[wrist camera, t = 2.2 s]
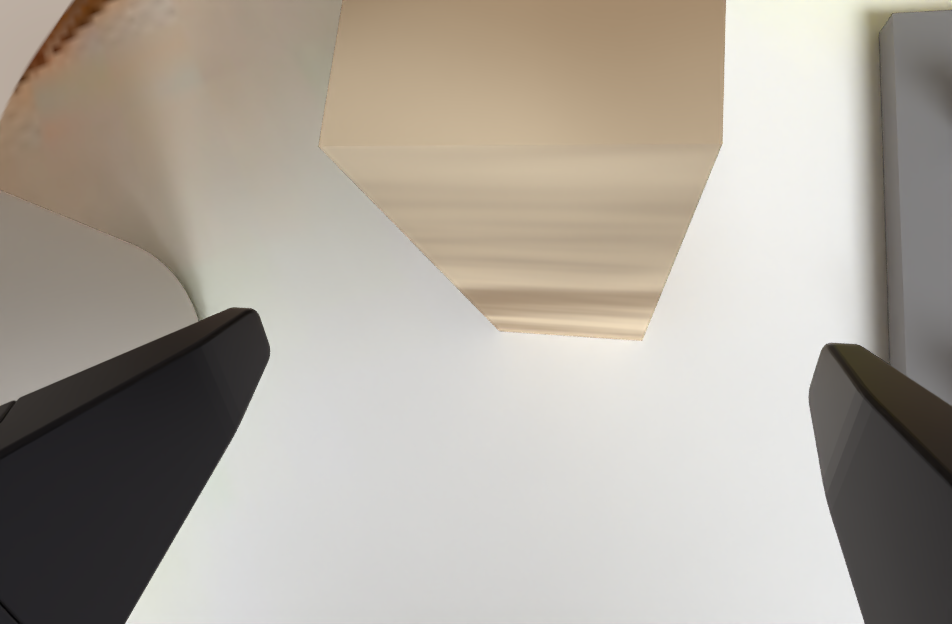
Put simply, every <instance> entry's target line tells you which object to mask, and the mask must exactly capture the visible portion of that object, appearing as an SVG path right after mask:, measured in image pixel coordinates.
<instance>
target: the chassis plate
mask: <svg viewBox="0 0 952 624" xmlns="http://www.w3.org/2000/svg"><path fill="white" fill-rule="evenodd" d="M879 40H880V71H881V102H882V133H883V164H884V195H885V226H886V257H887V288H888V319H889V350H890V365H891V366H892V367H894V368H895V369H897V370H898V371H900V372H901V373H903V374H904V375H906V376H908V377H909V378H911V379H912V380H914V381H915V382H917V383H918V384H920V385H921V386H923V387H924V388H926V389H927V390H929V391H930V392H932V393H933V394H935V395H936V396H938V397H939V398H941V399H942V400H944V401H945V402H947V403H948V404H950V405H951V406H952V10H944V11H925V12H906V13H893V14H892V15H891V17H890V18H889V20H888V21H887V23H886V24H885V25H884V27H883V28H882V30H881V31H880V33H879Z"/></svg>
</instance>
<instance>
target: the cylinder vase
mask: <svg viewBox="0 0 952 624" xmlns="http://www.w3.org/2000/svg"><path fill="white" fill-rule="evenodd" d="M196 322H198V317H197V315H196V312H195V309H194V307H193V304H192V302H191V300H190V298H189V296H188V294H187V293H186V291H185V289H184V288H183V286H182V285H181V283H180V282H179V280H178V279H177V278H176V277H175V275H174V274H173V273H172V272H171V271H170V270H169V269H168V268H167V267H166V266H165V265H164V264H163V263H162V262H161V261H160V260H158V259H157V258H156V257H154V256H153V255H152V254H150V253H149V252H147V251H145V250H144V249H142V248H140V247H138V246H136V245H133V244H131V243H129V242H126V241H124V240H121V239H119V238H117V237H114V236H112V235H109V234H107V233H104V232H102V231H99V230H97V229H95V228H92V227H90V226H87V225H85V224H82V223H80V222H77V221H75V220H73V219H70V218H68V217H65V216H63V215H60V214H58V213H55V212H53V211H51V210H48V209H46V208H43V207H41V206H38V205H36V204H33V203H31V202H29V201H26V200H24V199H21V198H19V197H16V196H14V195H11V194H9V193H7V192H4V191H2V190H0V406H1V405H3V404H5V403H8V402H10V401H13V400H15V401H17V400H18V399H19V398H20V397H22V396H24V395H27V394H29V393H31V392H34V391H36V390H38V389H41V388H43V387H45V386H48V385H50V384H53V383H55V382H57V381H60V380H62V379H64V378H67V377H69V376H71V375H74V374H76V373H78V372H81V371H83V370H85V369H88V368H90V367H93V366H95V365H97V364H100V363H102V362H104V361H107V360H109V359H111V358H114V357H116V356H118V355H121V354H123V353H125V352H128V351H130V350H133V349H135V348H137V347H140V346H142V345H144V344H147V343H149V342H151V341H154V340H156V339H158V338H161V337H163V336H165V335H168V334H170V333H172V332H175V331H177V330H180V329H182V328H184V327H187V326H189V325H191V324H194V323H196Z"/></svg>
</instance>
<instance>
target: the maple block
mask: <svg viewBox="0 0 952 624" xmlns="http://www.w3.org/2000/svg"><path fill="white" fill-rule="evenodd" d="M725 14H726V0H343V1H342V7H341V13H340V19H339V25H338V31H337V37H336V43H335V49H334V55H333V61H332V67H331V73H330V79H329V85H328V91H327V97H326V103H325V109H324V115H323V121H322V127H321V133H320V139H319V145H318V147H319V148H320V149H321V150H322V151H323V152H324V153H325V154H326V155H327V156H328V157H329V158H330V159H331V160H332V161H333V162H334V163H335V164H336V165H337V166H338V167H339V168H340V169H341V170H342V171H343V172H344V173H345V174H346V175H347V176H348V177H349V178H350V179H351V180H352V181H353V182H354V183H355V184H356V185H357V186H358V187H359V189H360V190H361V191H362V192H363V193H364V194H365V195H366V196H367V197H368V198H369V199H370V200H371V201H372V202H373V203H374V204H375V205H376V206H377V207H378V208H379V209H380V210H381V211H382V212H383V213H384V214H385V215H386V216H387V217H388V218H389V219H390V220H391V221H392V222H393V223H394V224H395V225H396V226H397V227H398V228H399V229H400V230H401V231H402V232H403V233H404V234H405V235H406V236H407V237H408V238H409V239H410V241H411V242H412V243H413V244H414V245H415V246H416V247H417V248H418V249H419V250H420V251H421V252H422V253H423V254H424V255H425V256H426V257H427V258H428V259H429V260H430V261H431V262H432V263H433V264H434V265H435V266H436V267H437V268H438V269H439V270H440V271H441V272H442V273H443V274H444V275H445V276H446V277H447V278H448V279H449V280H450V281H451V282H452V283H453V284H454V285H455V286H456V287H457V288H458V289H459V290H460V291H461V292H462V294H463V295H464V296H465V297H466V298H467V299H468V300H469V301H470V302H471V303H472V304H473V305H474V306H475V307H476V308H477V309H478V310H479V311H480V312H481V313H482V314H483V315H484V316H485V317H486V318H487V319H488V320H489V321H490V322H491V323H492V324H493V325H494V326H495V327H496V328H497V329H498V330H499V331H504V332H519V333H533V334H548V335H563V336H578V337H593V338H608V339H623V340H637V341H642V340H643V337H644V335H645V332H646V330H647V328H648V325H649V323H650V320H651V318H652V315H653V313H654V310H655V308H656V305H657V303H658V301H659V298H660V296H661V293H662V291H663V288H664V286H665V283H666V281H667V278H668V276H669V273H670V271H671V269H672V266H673V264H674V261H675V259H676V256H677V254H678V251H679V249H680V246H681V244H682V242H683V239H684V237H685V234H686V232H687V229H688V227H689V224H690V222H691V219H692V217H693V215H694V212H695V210H696V207H697V205H698V202H699V200H700V197H701V195H702V192H703V190H704V188H705V185H706V183H707V180H708V178H709V175H710V173H711V170H712V168H713V165H714V163H715V160H716V158H717V156H718V153H719V151H720V148H721V146H722V137H723V96H724V55H725Z"/></svg>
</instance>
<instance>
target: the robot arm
mask: <svg viewBox="0 0 952 624" xmlns="http://www.w3.org/2000/svg"><path fill="white" fill-rule="evenodd" d="M269 357H270V346H269V342H268V339H267V336H266V333H265V331H264V328H263V325H262V322H261V319H260V316H259V314H258V313H257V312H256V311H255V310H254V309H251V308H237V307H233V308H229V309H227V310H224V311H222V312H220V313H217V314H215V315H212V316H210V317H208V318H205V319H203V320H201V321H198V322H196V323H194V324H191V325H189V326H187V327H184V328H182V329H180V330H177V331H175V332H172V333H170V334H168V335H165V336H163V337H161V338H158V339H156V340H154V341H151V342H149V343H147V344H144V345H142V346H140V347H137V348H135V349H133V350H130V351H128V352H125V353H123V354H121V355H118V356H116V357H114V358H111V359H109V360H107V361H104V362H102V363H100V364H97V365H95V366H93V367H90V368H88V369H85V370H83V371H81V372H78V373H76V374H74V375H71V376H69V377H67V378H64V379H62V380H60V381H57V382H55V383H53V384H50V385H48V386H45V387H43V388H41V389H38V390H36V391H34V392H31V393H29V394H27V395H24V396H22V397H20V398H19V399H18V400H17V401H15V400H13V401H10V402H8V403H5V404H3V405H1V406H0V624H125V623H126V621H127V619H128V618H129V616H130V614H131V612H132V611H133V609H134V607H135V605H136V604H137V602H138V600H139V599H140V597H141V595H142V593H143V592H144V590H145V588H146V587H147V585H148V583H149V581H150V580H151V578H152V576H153V574H154V573H155V571H156V569H157V568H158V566H159V564H160V562H161V561H162V559H163V557H164V556H165V554H166V552H167V550H168V549H169V547H170V545H171V543H172V542H173V540H174V538H175V537H176V535H177V533H178V531H179V530H180V528H181V526H182V525H183V523H184V521H185V519H186V518H187V516H188V514H189V513H190V511H191V509H192V507H193V506H194V504H195V502H196V500H197V499H198V497H199V495H200V494H201V492H202V490H203V488H204V487H205V485H206V483H207V482H208V480H209V478H210V476H211V475H212V473H213V471H214V469H215V468H216V466H217V464H218V463H219V461H220V459H221V457H222V456H223V454H224V452H225V451H226V449H227V447H228V445H229V444H230V442H231V440H232V438H233V436H234V435H235V433H236V431H237V429H238V427H239V425H240V423H241V421H242V418H243V416H244V414H245V412H246V410H247V407H248V405H249V403H250V401H251V398H252V396H253V394H254V392H255V390H256V387H257V385H258V383H259V381H260V378H261V376H262V374H263V372H264V369H265V367H266V365H267V363H268V360H269ZM809 406H810V412H811V418H812V424H813V429H814V435H815V441H816V447H817V452H818V458H819V464H820V469H821V475H822V481H823V486H824V491H825V496H826V500H827V503H828V507H829V510H830V514H831V517H832V520H833V524H834V527H835V530H836V533H837V536H838V540H839V543H840V546H841V549H842V552H843V555H844V559H845V562H846V565H847V568H848V571H849V575H850V578H851V581H852V584H853V587H854V591H855V594H856V597H857V600H858V603H859V607H860V610H861V613H862V616H863V619H864V623H865V624H952V406H951V405H950V404H948V403H947V402H945V401H944V400H942V399H941V398H939V397H938V396H936V395H935V394H933V393H932V392H930V391H929V390H927V389H926V388H924V387H923V386H921V385H920V384H918V383H917V382H915V381H914V380H912V379H911V378H909V377H908V376H906V375H904V374H903V373H901V372H900V371H898V370H897V369H895V368H894V367H892V366H891V365H889V364H888V363H886V362H885V361H883V360H882V359H880V358H879V357H877V356H876V355H874V354H873V353H871V352H870V351H868V350H867V349H865V348H864V347H862V346H860V345H857V344H844V343H828V344H826V345H825V346H824V347H823V348H822V350H821V353H820V356H819V359H818V362H817V365H816V369H815V372H814V375H813V378H812V381H811V385H810V389H809Z"/></svg>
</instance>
